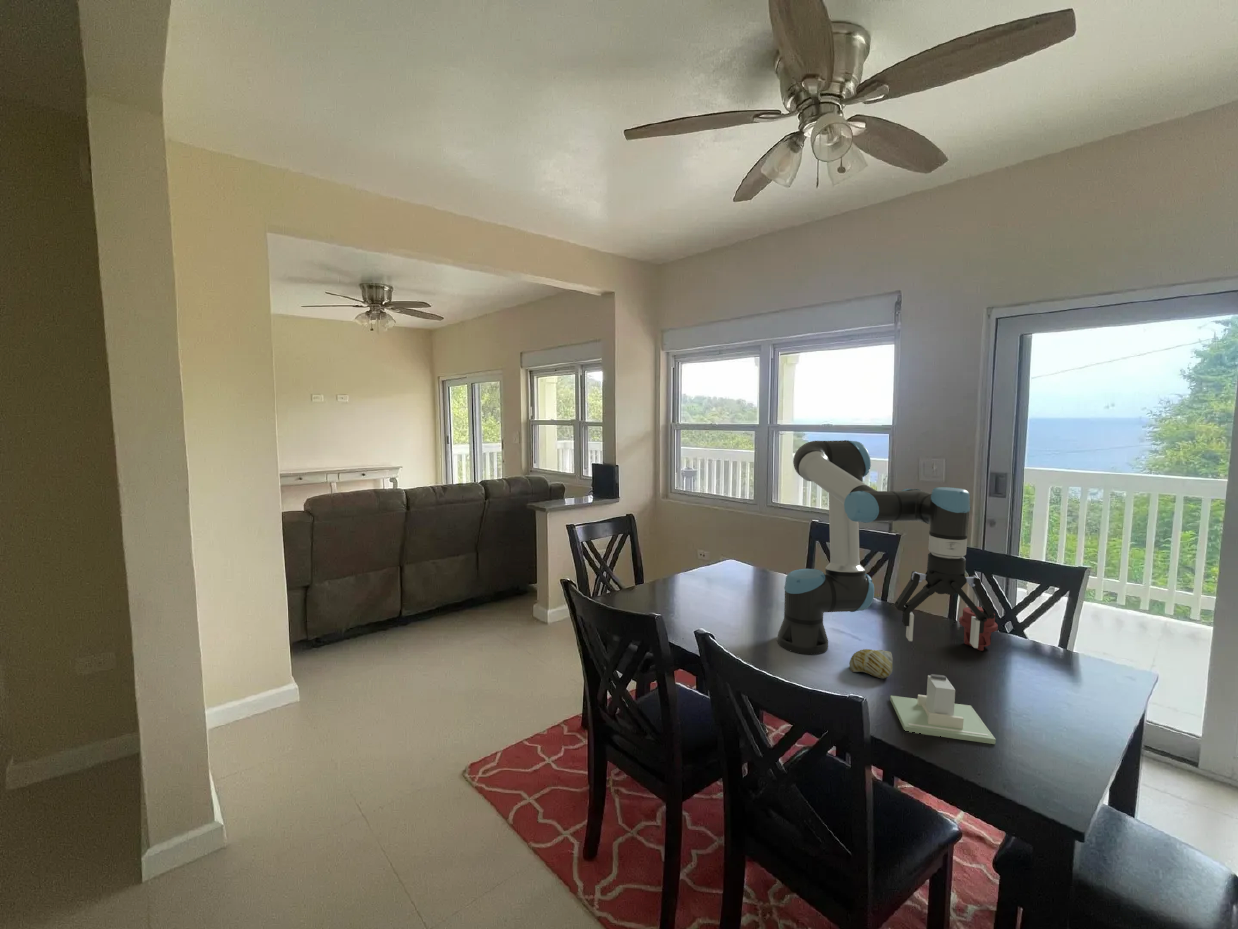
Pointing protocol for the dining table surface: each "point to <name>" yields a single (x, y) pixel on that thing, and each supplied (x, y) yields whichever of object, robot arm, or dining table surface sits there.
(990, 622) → the mechanical component
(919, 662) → the dining table surface
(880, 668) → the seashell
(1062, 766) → the dining table surface
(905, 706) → the board
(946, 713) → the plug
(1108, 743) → the dining table surface
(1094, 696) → the dining table surface
